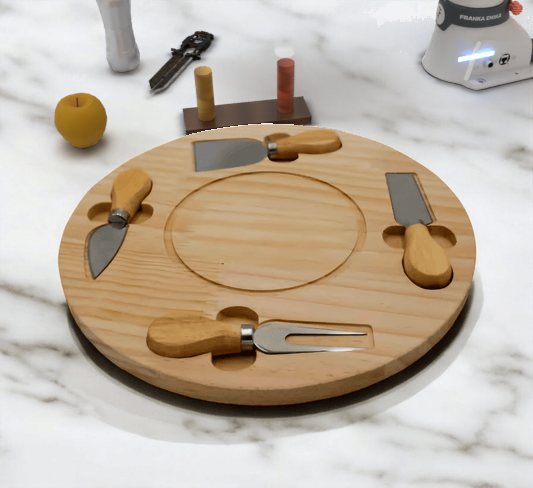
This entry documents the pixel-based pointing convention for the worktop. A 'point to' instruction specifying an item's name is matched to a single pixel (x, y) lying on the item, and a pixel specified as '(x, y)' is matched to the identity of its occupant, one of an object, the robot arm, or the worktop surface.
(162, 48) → the worktop surface
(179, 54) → the knife
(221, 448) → the worktop surface
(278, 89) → the rods
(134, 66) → the plastic bottle
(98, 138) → the apple
